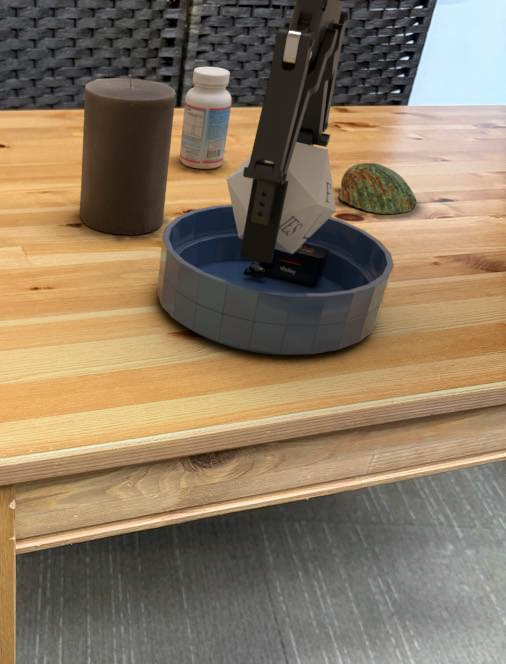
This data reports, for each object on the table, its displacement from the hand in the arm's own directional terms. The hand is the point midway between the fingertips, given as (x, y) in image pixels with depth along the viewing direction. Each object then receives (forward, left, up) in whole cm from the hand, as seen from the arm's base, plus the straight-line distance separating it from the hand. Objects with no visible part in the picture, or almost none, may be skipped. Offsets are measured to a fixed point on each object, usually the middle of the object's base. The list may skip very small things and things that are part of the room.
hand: (272, 238), depth 73 cm
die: (0, 0, 0) cm, 0 cm away
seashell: (-4, -40, -8) cm, 40 cm away
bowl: (0, -3, -8) cm, 8 cm away
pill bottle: (+20, -41, -8) cm, 46 cm away
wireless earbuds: (0, -8, -7) cm, 11 cm away
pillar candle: (+21, -16, -8) cm, 27 cm away
